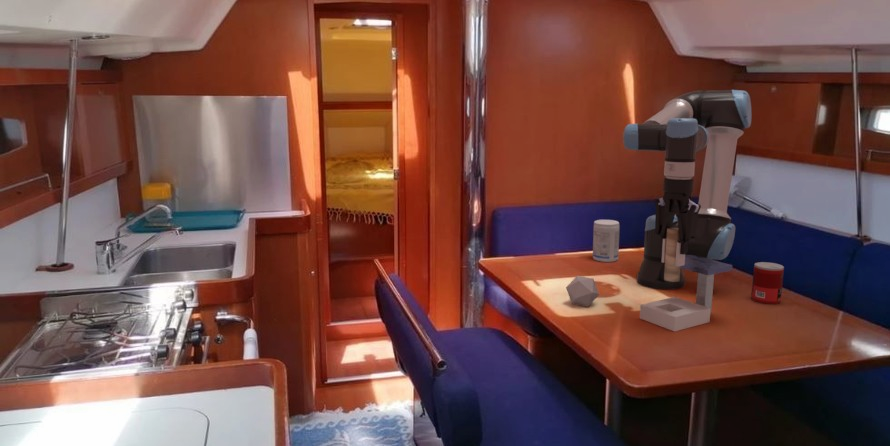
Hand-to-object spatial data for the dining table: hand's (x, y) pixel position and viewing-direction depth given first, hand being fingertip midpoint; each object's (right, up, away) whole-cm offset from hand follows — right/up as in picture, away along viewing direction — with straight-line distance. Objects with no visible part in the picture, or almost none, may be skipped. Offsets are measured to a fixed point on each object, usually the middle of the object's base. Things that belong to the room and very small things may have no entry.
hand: (672, 263), depth 172 cm
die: (-20, -14, +19) cm, 31 cm away
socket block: (+2, -16, +4) cm, 17 cm away
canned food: (+36, -13, +21) cm, 44 cm away
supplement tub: (0, -3, +71) cm, 71 cm away
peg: (0, -4, +1) cm, 5 cm away
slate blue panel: (+9, -15, +8) cm, 20 cm away
